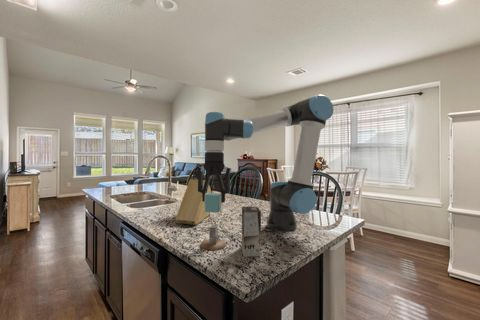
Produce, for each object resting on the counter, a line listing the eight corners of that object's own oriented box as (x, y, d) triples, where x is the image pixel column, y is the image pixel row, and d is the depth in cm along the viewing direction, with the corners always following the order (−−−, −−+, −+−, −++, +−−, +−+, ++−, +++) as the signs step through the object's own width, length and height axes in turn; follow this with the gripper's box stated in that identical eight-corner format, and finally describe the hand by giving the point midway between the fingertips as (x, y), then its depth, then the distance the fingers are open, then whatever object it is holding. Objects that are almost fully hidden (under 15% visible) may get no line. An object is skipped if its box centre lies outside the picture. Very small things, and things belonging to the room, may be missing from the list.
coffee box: (261, 256, 82) (261, 211, 82) (243, 257, 81) (243, 211, 81) (257, 246, 91) (257, 206, 91) (240, 246, 90) (241, 206, 90)
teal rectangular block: (221, 209, 94) (221, 193, 94) (218, 212, 89) (218, 195, 89) (209, 209, 95) (209, 192, 95) (205, 211, 89) (205, 194, 89)
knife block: (215, 211, 150) (215, 163, 149) (195, 227, 115) (196, 165, 115) (198, 210, 152) (199, 163, 151) (174, 225, 117) (174, 165, 117)
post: (228, 241, 96) (228, 223, 96) (222, 251, 86) (222, 231, 86) (205, 239, 98) (205, 222, 97) (197, 249, 88) (197, 229, 88)
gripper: (238, 152, 93) (237, 209, 94) (195, 151, 97) (195, 207, 97) (235, 151, 86) (234, 213, 86) (188, 151, 89) (188, 211, 89)
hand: (213, 210), depth 92 cm, fingers closed on teal rectangular block, 5 cm apart
